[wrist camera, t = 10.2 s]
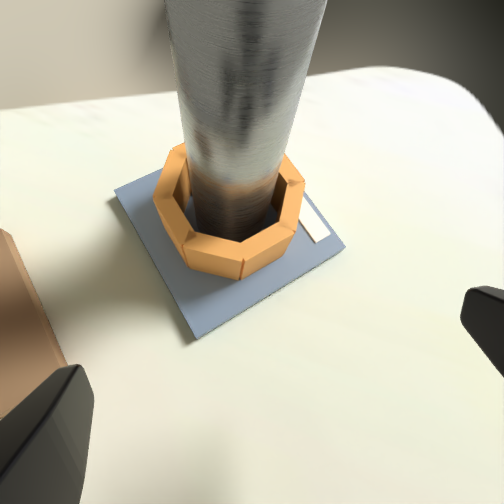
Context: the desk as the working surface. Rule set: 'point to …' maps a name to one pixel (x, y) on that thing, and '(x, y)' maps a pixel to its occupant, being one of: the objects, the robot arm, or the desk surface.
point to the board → (22, 332)
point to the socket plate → (209, 290)
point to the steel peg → (238, 100)
